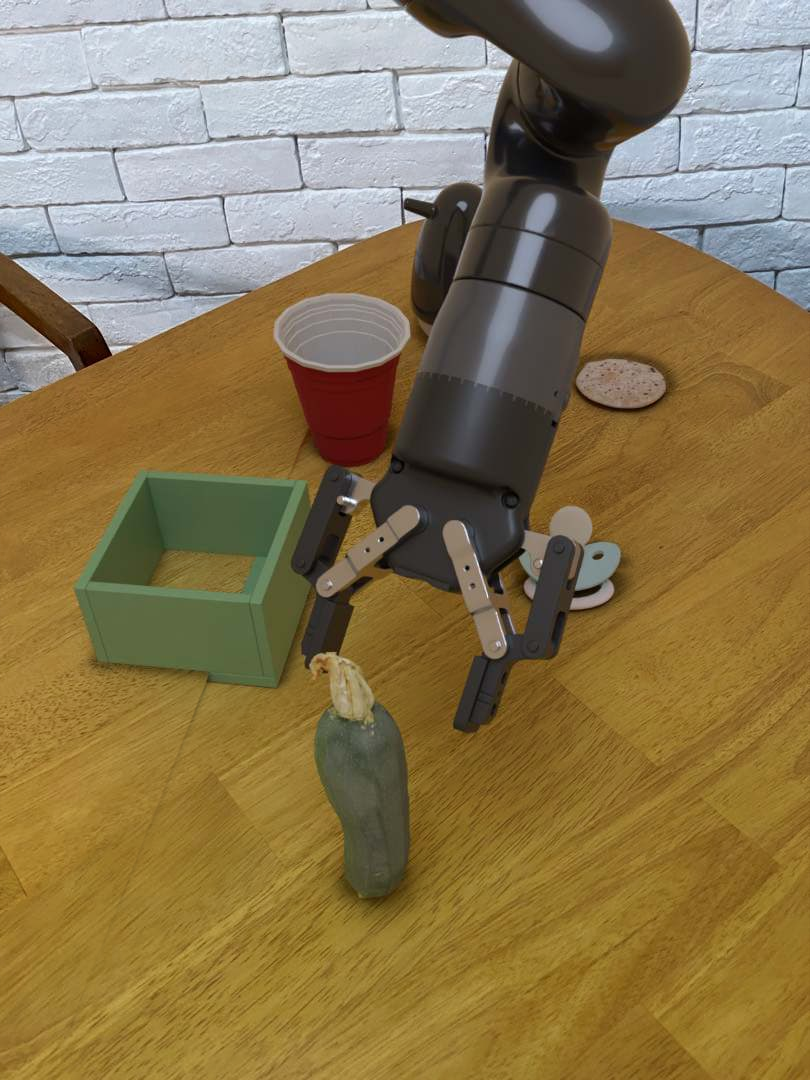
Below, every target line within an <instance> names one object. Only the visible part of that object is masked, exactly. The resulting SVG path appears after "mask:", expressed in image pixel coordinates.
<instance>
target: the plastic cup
mask: <svg viewBox="0 0 810 1080" xmlns="http://www.w3.org/2000/svg"><path fill="white" fill-rule="evenodd" d="M273 327H274V328H273V340H274V342H275V344H276V345H277V347H278V349H280V351H281V352H282V354H283V358H284V359H285V361H286V364H287V368H288V370H289V372H290V374H291V378H292V381H293V384H294V387H295V390H296V394H297V396H298V399H299V402H300V406H301V408H302V411H303V415H304V419H305V421H306V423H307V425H308V427H309V429H310V433H311V436H312V439H313V442H314V446H315V447H316V449H317V451H318V453H319V455H320V456H321V457H322V459H323V460H324V461H325V462H327V463H329V464H331V465H339V466H341V467H344V468H349V467H360V466H363V465H366V464H369V463H371V462H373V461H375V460H376V459H377V458H379V457H380V456H381V455H382V453H383V452H384V450H385V446H386V443H387V440H388V439H387V438H388V432H389V431H388V429H389V420H390V418H391V414H392V406H393V399H394V393H395V384H396V377H397V369H398V366H399V363H400V359H401V356H402V354H403V350H404V348H405V347H406V345H407V344H408V343H409V340H410V338H411V327H410V320H409V319H408V318H407V317H406V316H405V314H404V313H403V312H402V311H401V310H400V308H399V307H397V306H395V305H393V304H391V303H389V302H387V301H385V300H383V299H381V298H379V297H375V296H370V295H365V294H361V293H356V292H351V293H349V292H347V293H345V292H344V293H341V292H340V293H339V292H337V293H334V292H333V293H332V292H330V293H325V294H321V295H317V296H312V297H307V298H304V299H301V300H300V301H298V302H296V303H295V304H293V305H291V306H288V307H287V308H285V309H284V310H283V312H282V313H281V314H280V315H279V316H278V318H277V319H276V320H275V321H274V326H273Z"/></svg>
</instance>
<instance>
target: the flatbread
mask: <svg viewBox="0 0 810 1080" xmlns="http://www.w3.org/2000/svg"><path fill="white" fill-rule="evenodd" d="M575 386H576V387H577V389H578V390H579V391H580V393H581V394H582V395H583V396H584V397H585V398H587V399H589V400H590V401H592V402H595V403H598V404H600V405H603V406H607V407H611V408H617V409H638V408H643V407H647V406H649V405H651V404H653V403H655V402H656V401H658V400H659V399H660V398H661V397H662V396H663V395H664V394H665V392H666V390H667V384H666V380H665V376H664V375H663V374H662V373H661V372H660V371H659V370H658V369H656V368H655V367H654V366H651V365H648V364H646V363H645V364H644V363H641V362H636V361H632V360H628V359H621V358H620V359H619V358H605V359H603V360H595V361H589V362H587V363H585V364H584V366H583V368H582V369H581V371H579V373H578V375H577V376H576V378H575Z"/></svg>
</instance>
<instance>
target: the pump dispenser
mask: <svg viewBox="0 0 810 1080" xmlns="http://www.w3.org/2000/svg"><path fill="white" fill-rule="evenodd" d="M482 190H483V187H481V186H479V185H477V184H475V183H472V182H467V181H457V182H455V183H451V184H449V185H447V186H446V187H444V188H443V189H442V190H441V191H440V192H439V193H438V194H437V195H436V197H435V199H434V200H433V202H429V201H425V200H420V199H416V198H415V199H414V198H411V197H406V198H405V199H403V201H402V208H403V210H405V211H407V212H410V213H412V214H414V215H417V216H420V217H422V218H425V219H424V221H423V223H422V226H421V229H420V232H419V235H418V239H417V242H416V246H415V251H414V255H413V261H412V267H411V278H410V293H409V294H410V295H409V296H410V297H409V298H410V307H411V310H412V312H413V314H414V315H415V317H416V319H417V322H418V324H419V326H420V328H421V330H423V332H424V333H425V334H426V336H428V337H429V335H430V332H431V329H432V327H433V324H434V322H435V319H436V317H437V315H438V313H439V311H440V309H441V307H442V305H443V303H444V301H445V299H446V296H447V294H448V292H449V289H450V286H451V284H452V283H453V278H454V275H455V272H456V269H457V266H458V262H459V259H460V256H461V253H462V250H463V247H464V244H465V241H466V238H467V235H468V232H469V229H470V226H471V223H472V221H473V218H474V216H475V213H476V211H477V209H478V206H479V204H480V201H481V196H482Z"/></svg>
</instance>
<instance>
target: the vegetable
mask: <svg viewBox="0 0 810 1080" xmlns="http://www.w3.org/2000/svg"><path fill="white" fill-rule="evenodd" d="M336 654H337V652H327V653H326V654H323V653H320V654H318V655H316V656H314V658H313V659H312V660H311V663H310V664H309V666H310V669H311V670H310V671H311V674H312V675H313V676H312V678H311V679H312V680H313V681H315V680H317V679H318V678H319V676H320V675H321V674H323V673H322V670H323V669H324V670H326V671H328V673H327V674H328V677H329V690H330V696H331V697H330V698H331V701H332V704H331V705H330V706H329V707H327V708H326V709H325V710H324V711H323V713H321V715H320V718H319V720H318V722H317V725H316V728H315V734H314V739H313V740H314V743H313V758H314V760H315V765H316V769H317V774H318V776H319V777H318V778H319V781H320V783H321V785H322V787H323V789H324V792H325V794H326V797H327V800H328V802H329V804H330V805H331V807H332V809H333V811H334V813H335V815H336V816H337V817H338V820H339V822H340V826H341V829H342V833H343V856H344V871H343V872H344V873H343V874H344V877H345V880H346V881H347V882H348V884H349V886H350V887H351V888H352V889H353V890H354V891H355V892H356V893H357V895H358V898H359V899H373V898H382V897H385V896H387V895H388V894H390V893H391V892H392V891H393V890H395V889H396V888H398V887H399V886H400V885H401V884H402V882H403V880H404V876H405V872H406V869H407V865H408V860H409V855H410V850H411V829H410V828H411V827H410V825H411V824H410V823H411V822H410V821H411V820H410V795H409V787H408V786H409V775H408V761H407V754H406V748H405V743H404V741H403V736H402V732H401V730H400V727H399V726H398V723H397V722H396V721H395V719H394V717H393V715H391V713H390V712H389V711H388V709H386V707H385V706H384V705H383V704H382V703H380V702H378V701H377V700H376V699H375V696H374V694H373V691H372V689H371V687H370V686H369V685H368V683H367V681H366V679H365V676H364V672H363V669H362V668H361V667H360V666H359V664H356V663H355V662H353V660H351V659H348V658H346V657H342V656H340V655H339V656H337V655H336ZM321 668H323V669H321Z"/></svg>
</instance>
